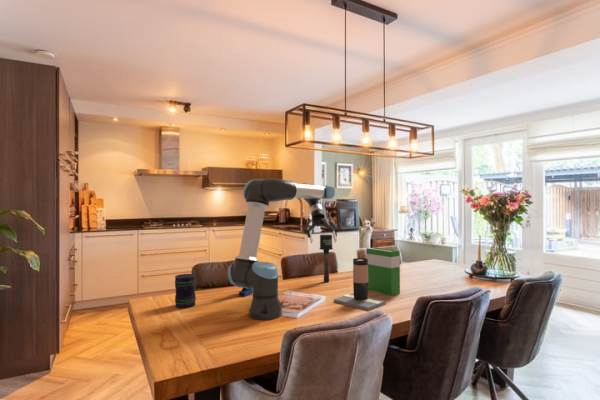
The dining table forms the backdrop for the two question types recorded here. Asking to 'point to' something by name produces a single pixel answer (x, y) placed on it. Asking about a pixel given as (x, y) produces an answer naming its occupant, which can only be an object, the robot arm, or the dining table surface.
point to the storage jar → (185, 291)
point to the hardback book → (383, 270)
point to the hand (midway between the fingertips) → (323, 241)
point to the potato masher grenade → (326, 252)
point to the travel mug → (360, 278)
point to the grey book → (360, 302)
